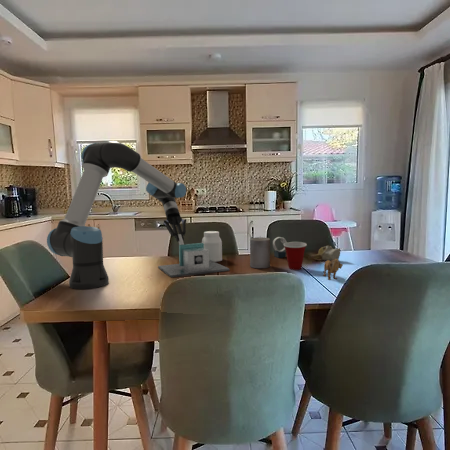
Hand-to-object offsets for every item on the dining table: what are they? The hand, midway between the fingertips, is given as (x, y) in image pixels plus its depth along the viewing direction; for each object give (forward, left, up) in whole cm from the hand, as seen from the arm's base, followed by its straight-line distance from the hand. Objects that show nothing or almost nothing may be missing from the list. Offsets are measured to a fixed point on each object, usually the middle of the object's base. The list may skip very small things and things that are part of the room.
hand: (182, 245), depth 188 cm
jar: (+17, +1, -9) cm, 19 cm away
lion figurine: (+46, -59, -9) cm, 76 cm away
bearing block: (0, -16, -9) cm, 18 cm away
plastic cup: (+43, -38, -9) cm, 58 cm away
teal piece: (0, -20, -7) cm, 21 cm away
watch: (+53, -10, -9) cm, 55 cm away
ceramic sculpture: (+69, -30, -10) cm, 76 cm away
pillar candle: (+31, -26, -9) cm, 41 cm away
